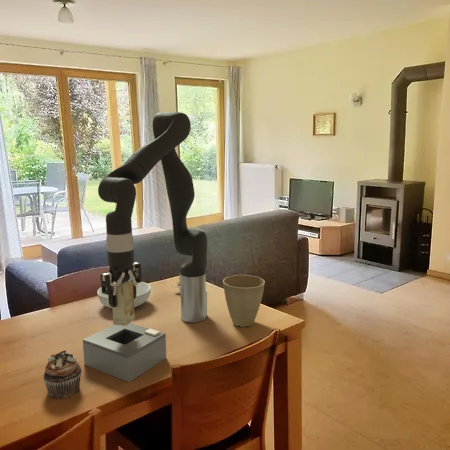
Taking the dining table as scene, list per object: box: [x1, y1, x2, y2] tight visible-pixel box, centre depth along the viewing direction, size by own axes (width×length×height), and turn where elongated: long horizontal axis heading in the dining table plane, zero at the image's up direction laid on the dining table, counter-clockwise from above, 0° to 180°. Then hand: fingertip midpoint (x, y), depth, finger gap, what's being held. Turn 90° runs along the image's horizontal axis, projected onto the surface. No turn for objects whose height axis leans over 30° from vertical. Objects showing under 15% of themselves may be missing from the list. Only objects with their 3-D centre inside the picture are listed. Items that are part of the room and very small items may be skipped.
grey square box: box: [82, 322, 167, 383], centre depth 133 cm, size 16×18×9 cm
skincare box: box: [111, 280, 136, 326], centre depth 130 cm, size 6×4×12 cm
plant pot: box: [222, 274, 266, 328], centre depth 160 cm, size 15×15×16 cm
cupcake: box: [42, 350, 83, 399], centre depth 118 cm, size 10×10×10 cm
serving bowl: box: [96, 281, 152, 309], centre depth 178 cm, size 21×21×7 cm
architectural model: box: [171, 275, 181, 292], centre depth 191 cm, size 3×7×7 cm, turn 53°
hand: (123, 302), depth 130 cm, fingers closed on skincare box, 7 cm apart
